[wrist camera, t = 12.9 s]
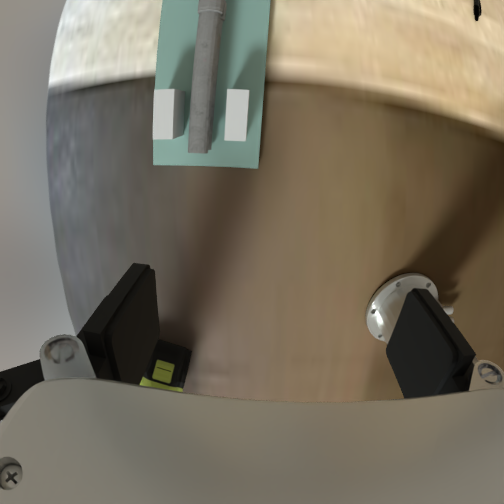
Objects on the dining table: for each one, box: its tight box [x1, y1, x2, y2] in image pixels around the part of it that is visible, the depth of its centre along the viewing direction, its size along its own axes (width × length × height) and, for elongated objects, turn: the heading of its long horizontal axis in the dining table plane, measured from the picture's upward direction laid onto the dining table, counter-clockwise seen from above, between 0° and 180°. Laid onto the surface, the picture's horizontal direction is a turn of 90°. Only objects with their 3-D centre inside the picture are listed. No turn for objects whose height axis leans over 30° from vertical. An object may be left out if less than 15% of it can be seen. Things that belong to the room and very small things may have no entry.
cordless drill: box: [140, 340, 192, 392], centre depth 37 cm, size 23×7×25 cm, turn 161°
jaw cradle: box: [153, 0, 270, 169], centre depth 26 cm, size 12×30×6 cm, turn 176°
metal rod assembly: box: [188, 0, 227, 154], centre depth 25 cm, size 26×3×5 cm, turn 175°
